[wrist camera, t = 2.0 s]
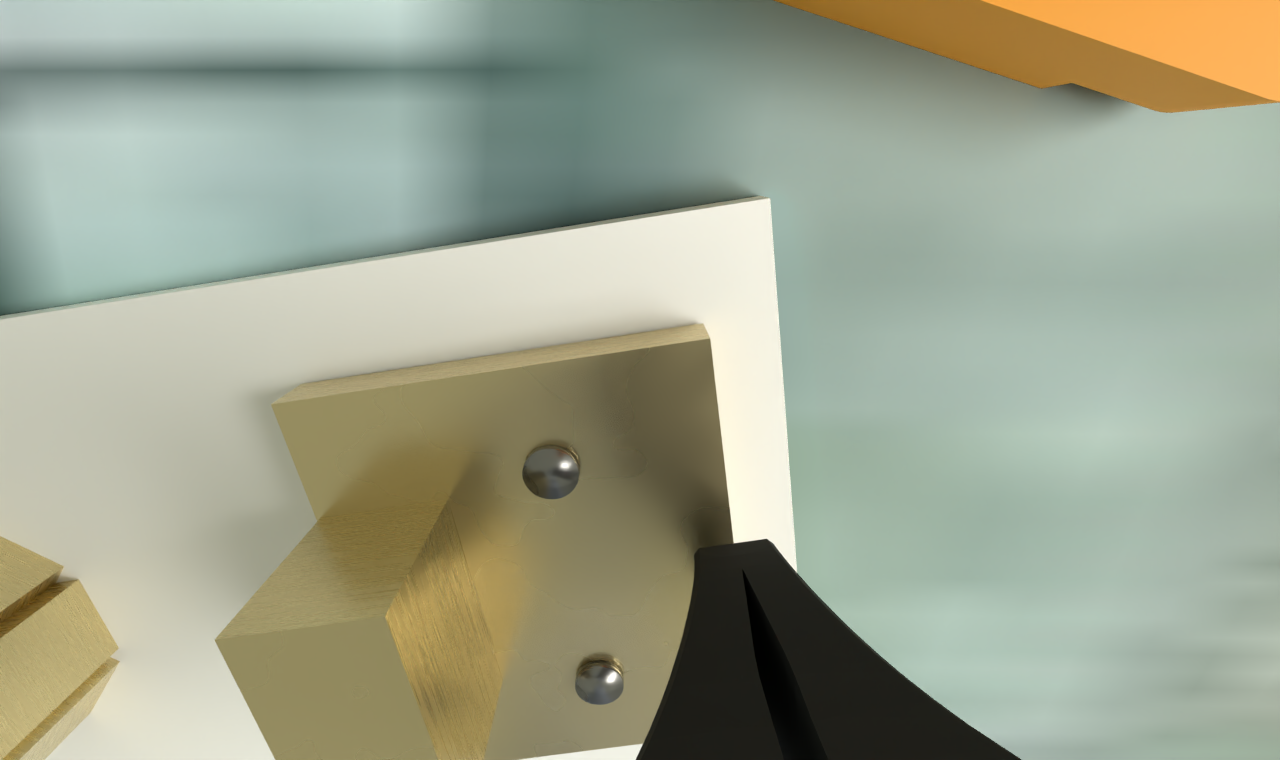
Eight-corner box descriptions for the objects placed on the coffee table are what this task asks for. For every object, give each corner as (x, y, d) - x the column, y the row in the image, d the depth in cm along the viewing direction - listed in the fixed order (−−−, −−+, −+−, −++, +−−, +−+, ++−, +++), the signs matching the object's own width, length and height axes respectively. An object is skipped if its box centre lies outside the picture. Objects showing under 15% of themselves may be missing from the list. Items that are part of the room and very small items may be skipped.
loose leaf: (746, 691, 14) (789, 885, 10) (430, 732, 14) (358, 937, 10) (703, 323, 11) (742, 407, 7) (301, 384, 11) (133, 497, 7)
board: (804, 767, 16) (813, 796, 15) (-168, 888, 17) (-204, 921, 16) (760, 195, 11) (769, 197, 10) (-625, 414, 12) (-710, 431, 11)
